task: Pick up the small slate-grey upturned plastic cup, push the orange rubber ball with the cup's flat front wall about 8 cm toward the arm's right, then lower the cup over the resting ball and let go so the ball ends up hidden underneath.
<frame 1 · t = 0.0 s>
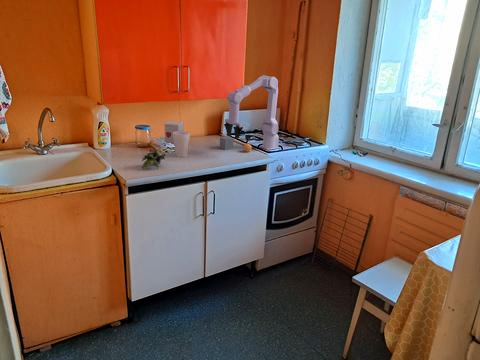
hand: (233, 137, 219), 10 cm above the worktop, tool pointing down, fingers open, 7 cm apart
passion flower: (154, 167, 194), on the worktop
cup: (226, 148, 234), on the worktop
ball: (247, 147, 227), on the worktop
supplement box: (174, 147, 232), on the worktop
foam cup: (181, 155, 215), on the worktop
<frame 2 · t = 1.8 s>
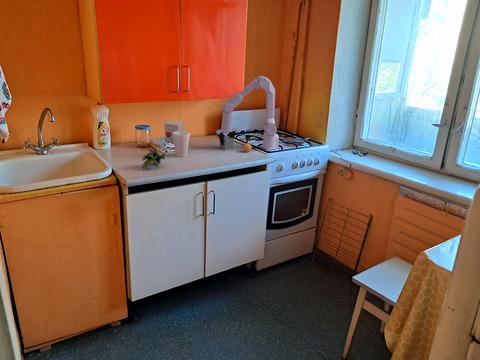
hand: (226, 144, 233), 2 cm above the worktop, tool pointing down, fingers closed on cup, 6 cm apart
cup: (226, 148, 234), on the worktop, touching gripper
everything else where it was.
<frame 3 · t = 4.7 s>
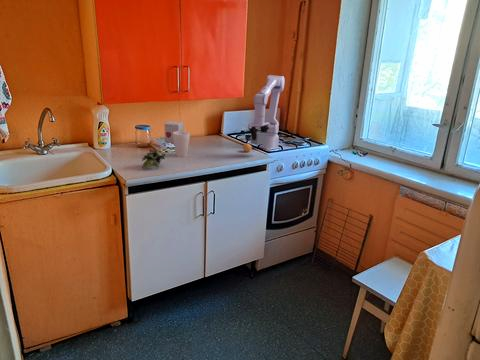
hand: (258, 139, 218), 10 cm above the worktop, tool pointing down, fingers closed on cup, 6 cm apart
cup: (257, 143, 219), point 7 cm above the worktop, touching gripper
everything else where it was.
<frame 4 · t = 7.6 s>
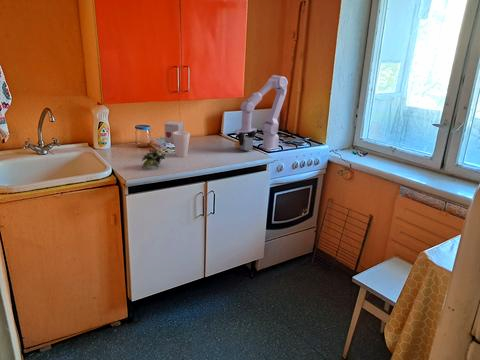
hand: (245, 144, 228), 4 cm above the worktop, tool pointing down, fingers closed on cup, 6 cm apart
cup: (245, 148, 229), point 2 cm above the worktop, touching gripper
ball: (239, 144, 233), on the worktop
everything else where it was.
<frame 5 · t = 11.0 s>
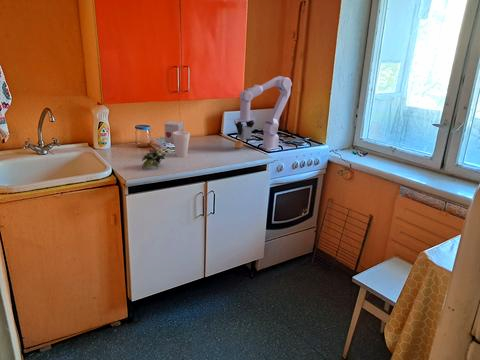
hand: (244, 134, 228), 10 cm above the worktop, tool pointing down, fingers closed on cup, 6 cm apart
cup: (244, 137, 228), point 8 cm above the worktop, touching gripper
everything else where it was.
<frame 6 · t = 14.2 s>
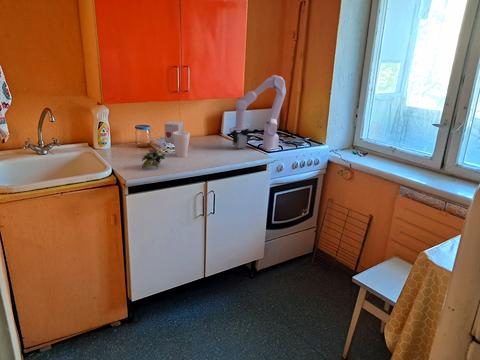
hand: (239, 142, 233), 4 cm above the worktop, tool pointing down, fingers closed on cup, 6 cm apart
cup: (239, 145, 234), point 2 cm above the worktop, touching gripper
everything else where it was.
when the fingers open (3 cm above the worktop, at t = 15.2 s): cup stays where it is, on the worktop.
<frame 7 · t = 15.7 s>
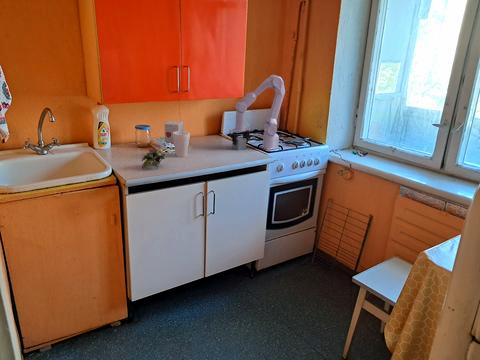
hand: (239, 143, 233), 3 cm above the worktop, tool pointing down, fingers open, 7 cm apart
cup: (239, 148, 234), on the worktop
everything else where it was.
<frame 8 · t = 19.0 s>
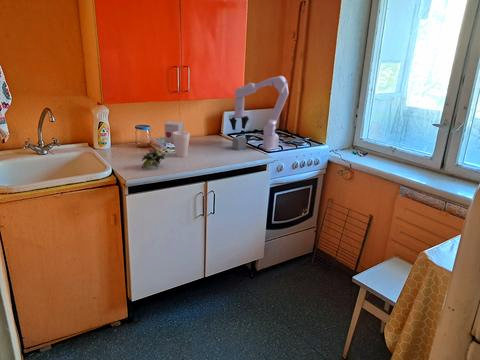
hand: (238, 129, 240), 10 cm above the worktop, tool pointing down, fingers open, 7 cm apart
nothing on the worktop moved.
at the end: ball 0.3 cm from the cup (horizontally); cup on the worktop; ball moved 8.2 cm from its start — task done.
